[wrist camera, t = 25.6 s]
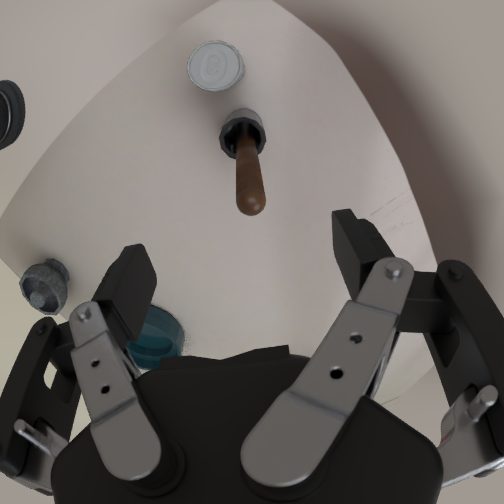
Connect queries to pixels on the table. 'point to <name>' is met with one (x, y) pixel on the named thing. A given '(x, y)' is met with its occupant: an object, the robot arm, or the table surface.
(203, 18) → the table surface
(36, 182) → the table surface
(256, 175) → the stick
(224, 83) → the beverage can
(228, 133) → the crock
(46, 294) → the mortar and pestle
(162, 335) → the bowl
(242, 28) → the table surface
